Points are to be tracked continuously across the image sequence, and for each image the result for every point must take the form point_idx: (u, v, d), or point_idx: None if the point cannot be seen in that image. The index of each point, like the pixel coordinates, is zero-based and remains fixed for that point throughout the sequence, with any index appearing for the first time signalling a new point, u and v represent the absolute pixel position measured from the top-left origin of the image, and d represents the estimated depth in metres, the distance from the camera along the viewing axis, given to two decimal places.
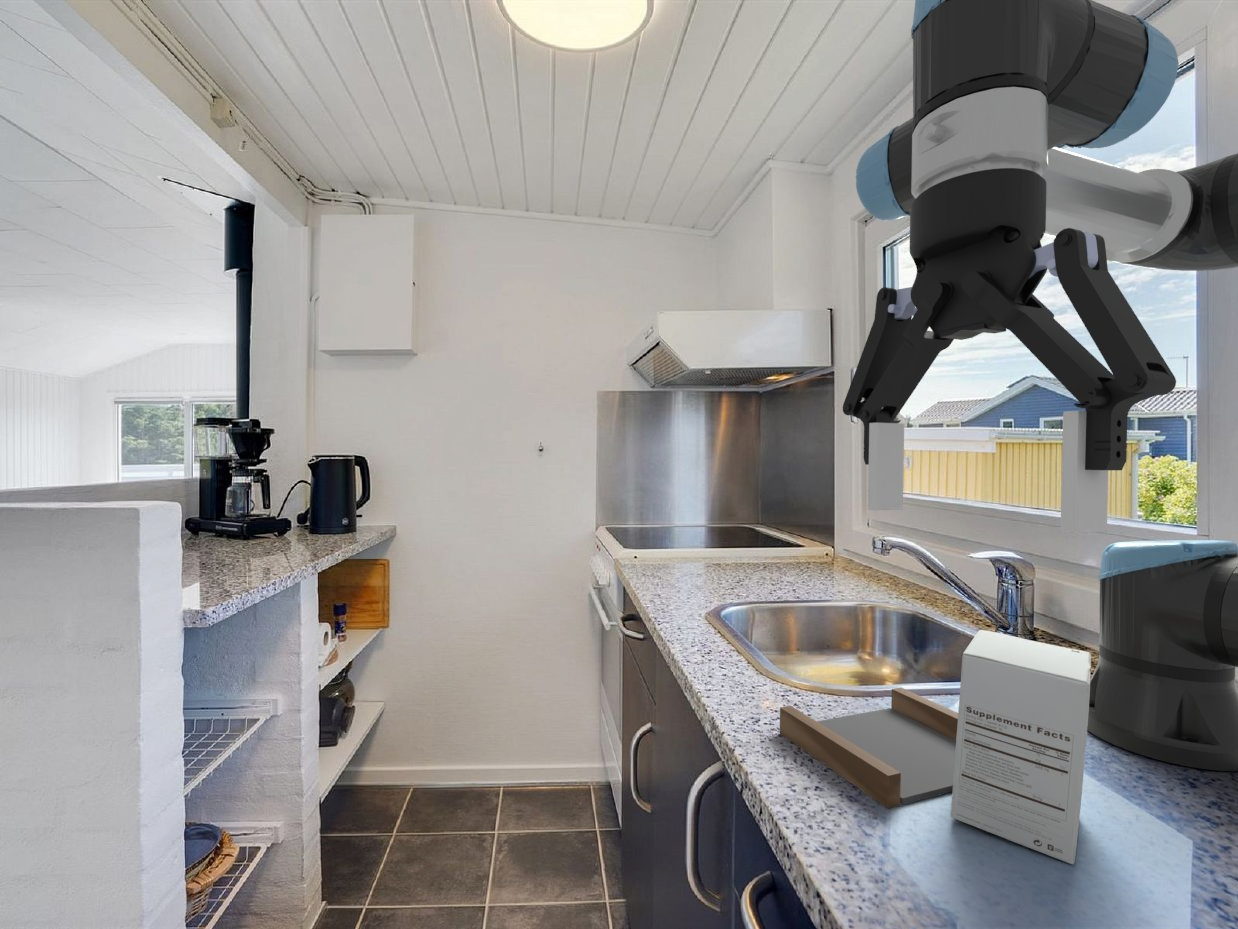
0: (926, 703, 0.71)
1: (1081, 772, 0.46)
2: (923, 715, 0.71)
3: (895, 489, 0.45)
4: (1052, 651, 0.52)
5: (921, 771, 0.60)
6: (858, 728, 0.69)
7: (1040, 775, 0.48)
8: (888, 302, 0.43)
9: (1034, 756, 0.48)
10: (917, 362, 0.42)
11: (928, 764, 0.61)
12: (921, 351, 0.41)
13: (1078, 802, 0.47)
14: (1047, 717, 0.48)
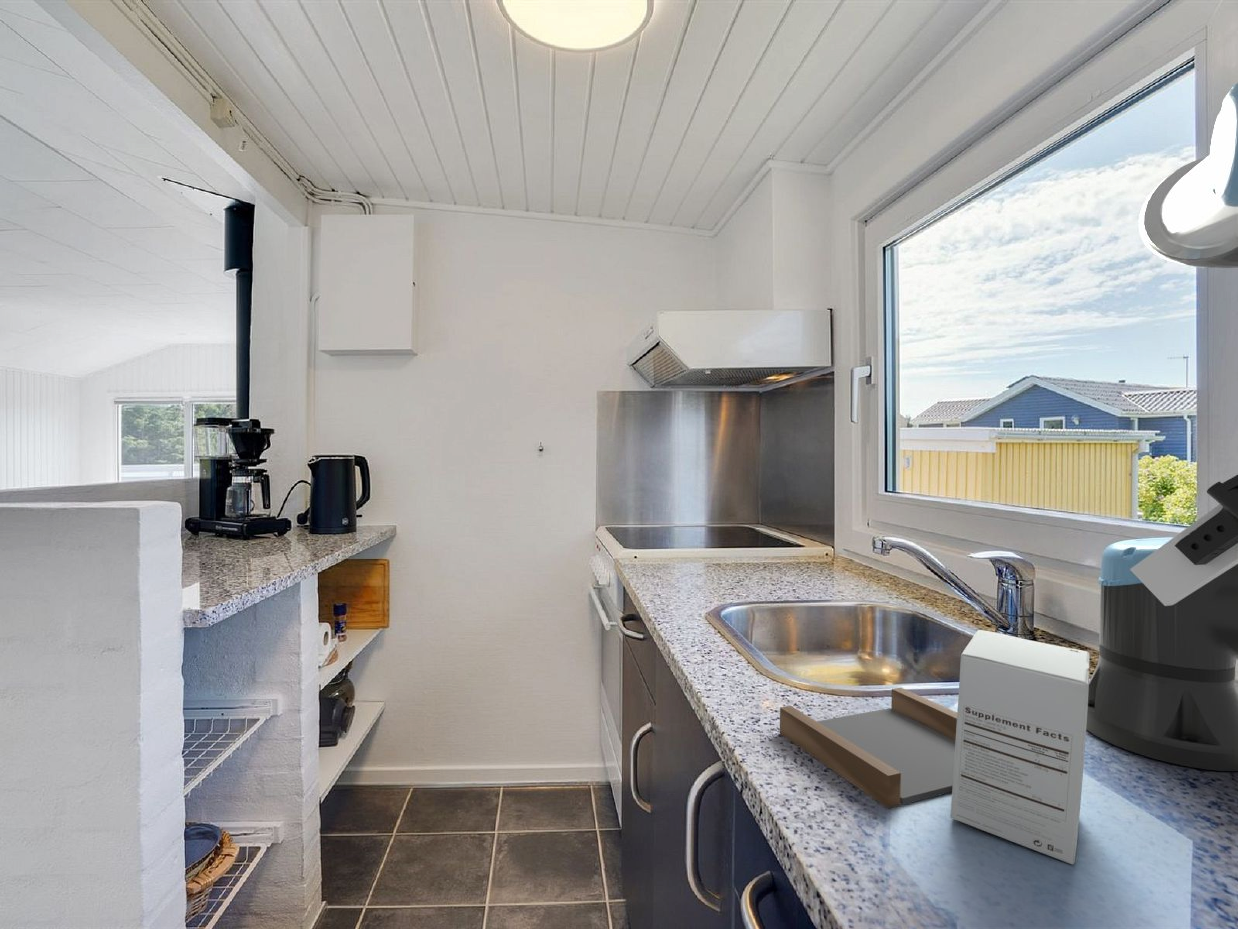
0: (926, 703, 0.71)
1: (1080, 772, 0.46)
2: (923, 715, 0.71)
3: None
4: (1050, 651, 0.52)
5: (921, 771, 0.60)
6: (858, 728, 0.69)
7: (1039, 775, 0.48)
8: None
9: (1033, 756, 0.48)
10: None
11: (928, 764, 0.61)
12: None
13: (1077, 802, 0.47)
14: (1046, 717, 0.47)
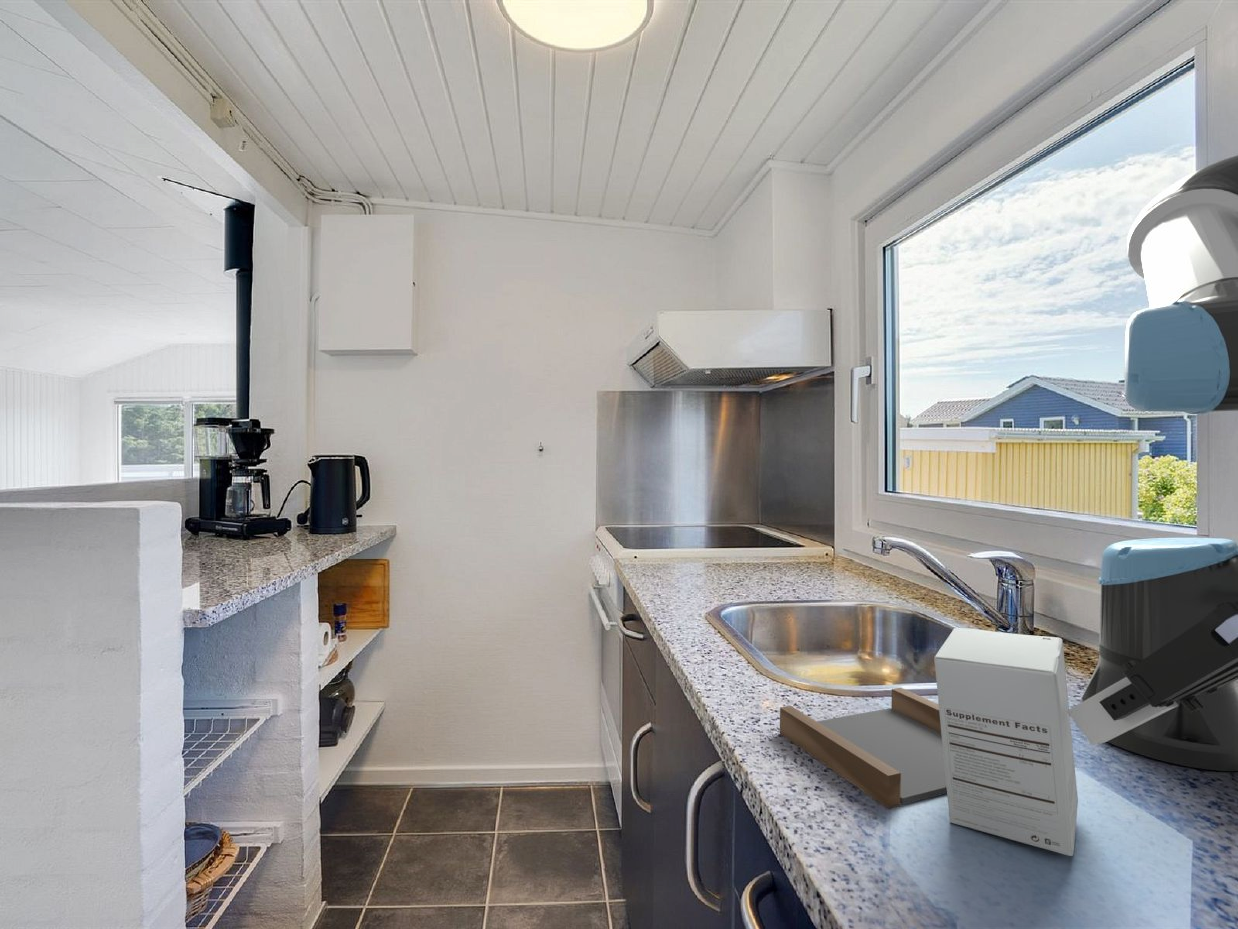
0: (926, 703, 0.71)
1: (1063, 762, 0.47)
2: (923, 715, 0.71)
3: None
4: (1023, 642, 0.53)
5: (921, 771, 0.60)
6: (858, 728, 0.69)
7: (1025, 770, 0.48)
8: None
9: (1017, 752, 0.48)
10: None
11: (928, 764, 0.61)
12: None
13: (1066, 793, 0.47)
14: (1022, 711, 0.48)
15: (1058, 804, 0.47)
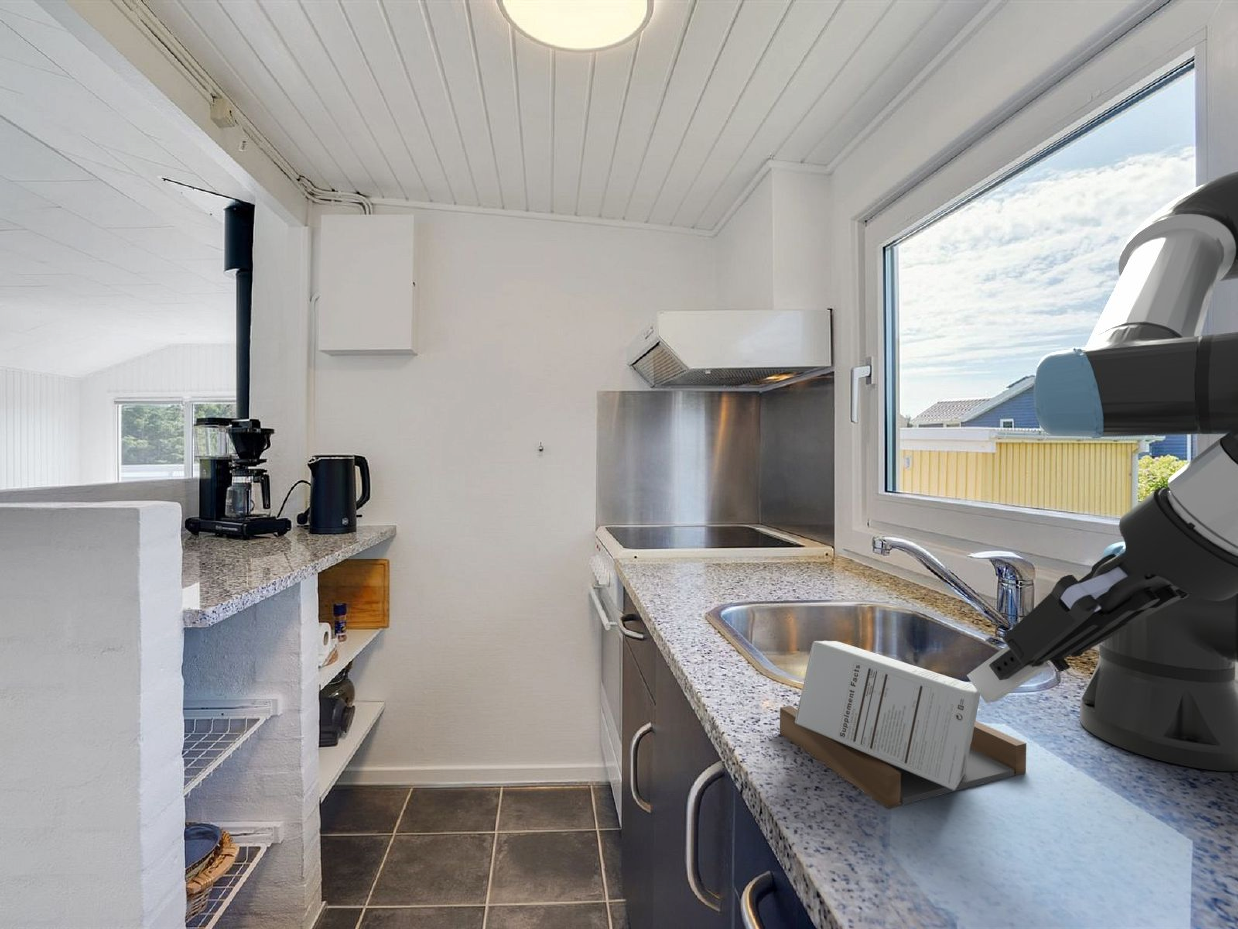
0: None
1: (885, 664, 0.58)
2: None
3: None
4: None
5: None
6: None
7: (892, 695, 0.57)
8: None
9: (876, 694, 0.58)
10: None
11: None
12: None
13: (912, 674, 0.57)
14: (841, 675, 0.60)
15: (922, 683, 0.56)
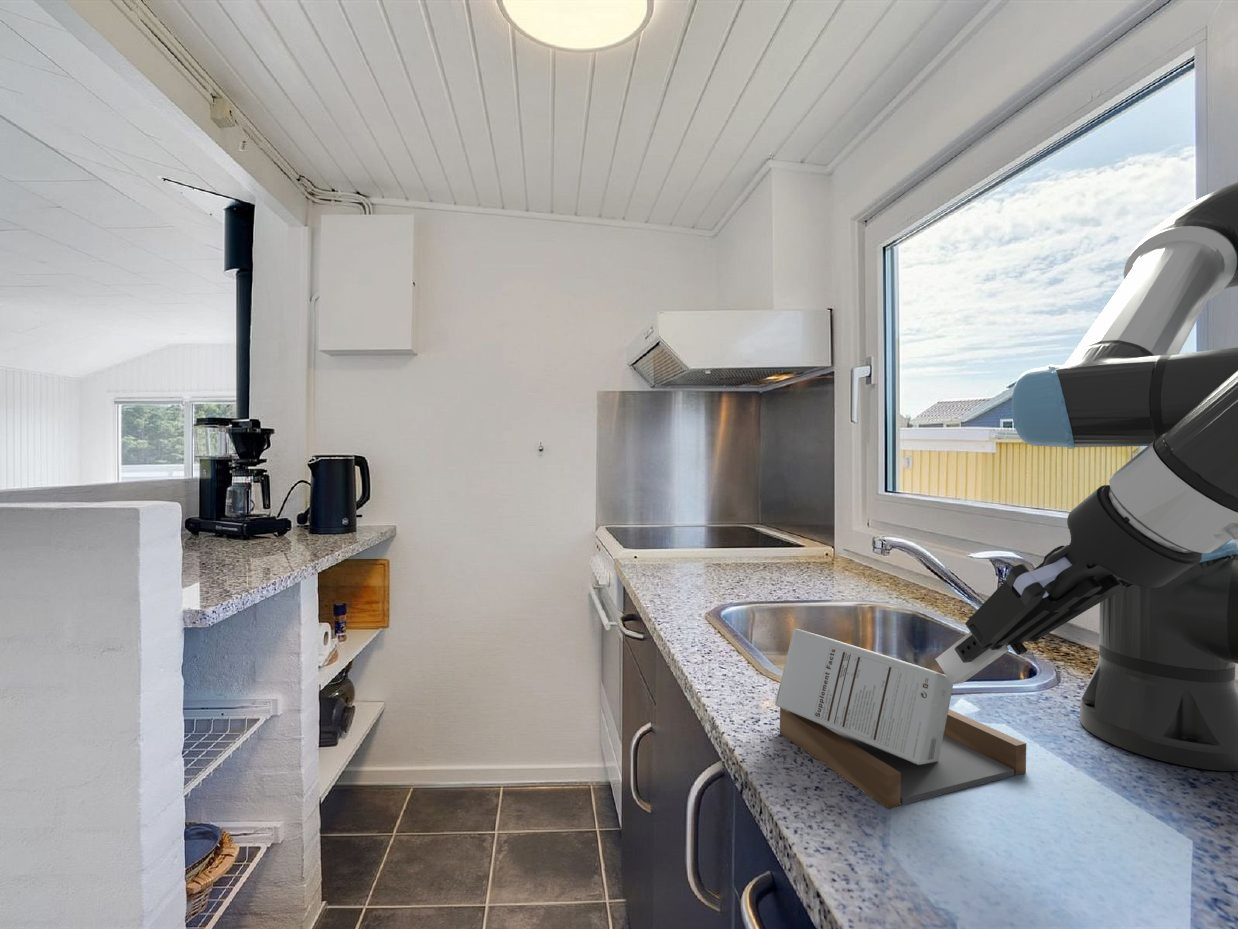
0: None
1: (858, 648, 0.62)
2: None
3: None
4: None
5: (921, 771, 0.60)
6: None
7: (864, 676, 0.61)
8: (1042, 594, 0.46)
9: (849, 676, 0.62)
10: None
11: (928, 764, 0.61)
12: None
13: (882, 656, 0.61)
14: (818, 659, 0.64)
15: (891, 664, 0.60)
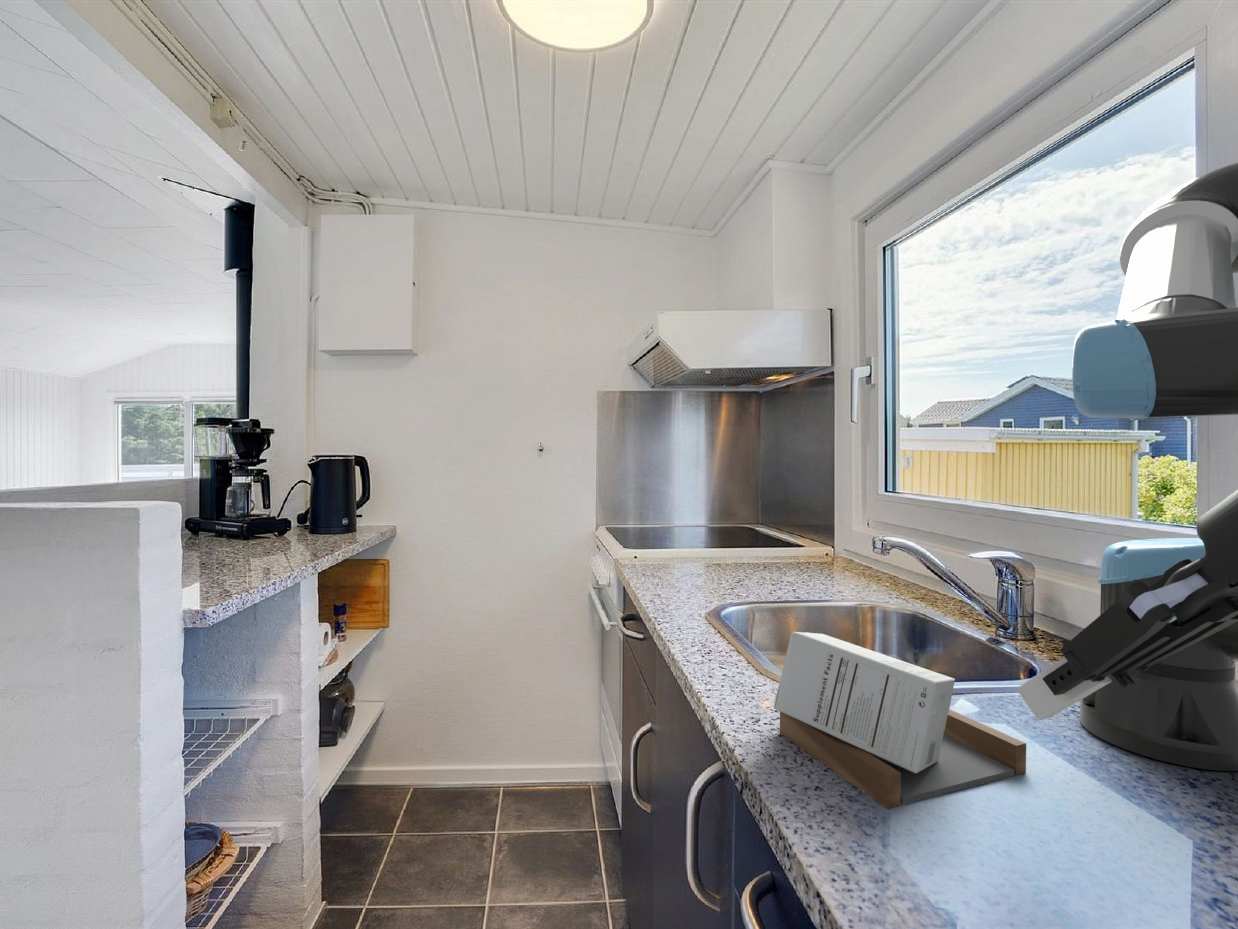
0: None
1: (856, 654, 0.61)
2: None
3: None
4: None
5: (921, 771, 0.60)
6: None
7: (862, 683, 0.60)
8: None
9: (847, 682, 0.61)
10: None
11: None
12: None
13: (880, 663, 0.60)
14: (816, 664, 0.63)
15: (889, 672, 0.59)
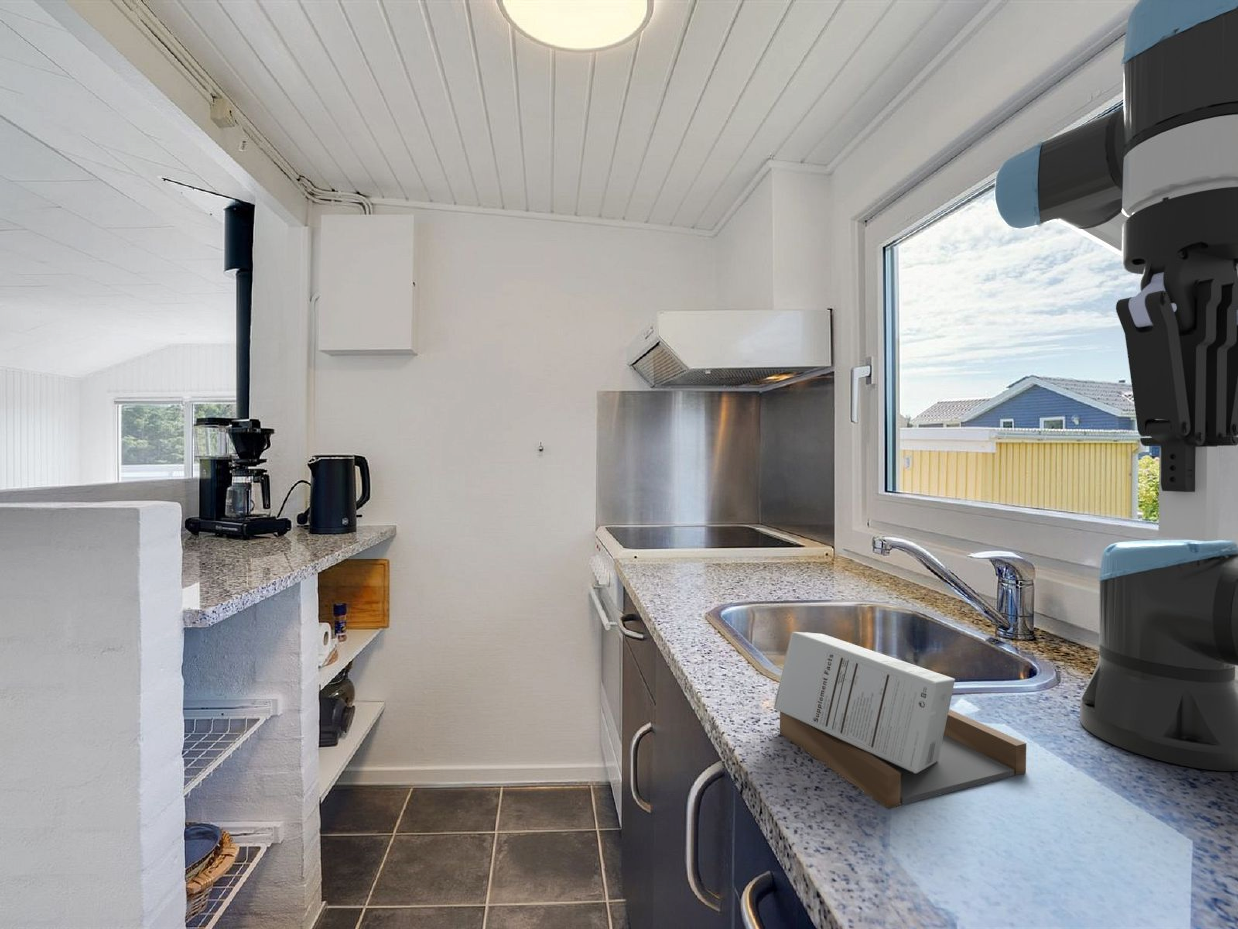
0: None
1: (856, 654, 0.61)
2: None
3: None
4: None
5: (921, 771, 0.60)
6: None
7: (862, 683, 0.60)
8: (1169, 303, 0.39)
9: (847, 682, 0.61)
10: None
11: None
12: None
13: (880, 663, 0.60)
14: (816, 664, 0.63)
15: (889, 672, 0.59)
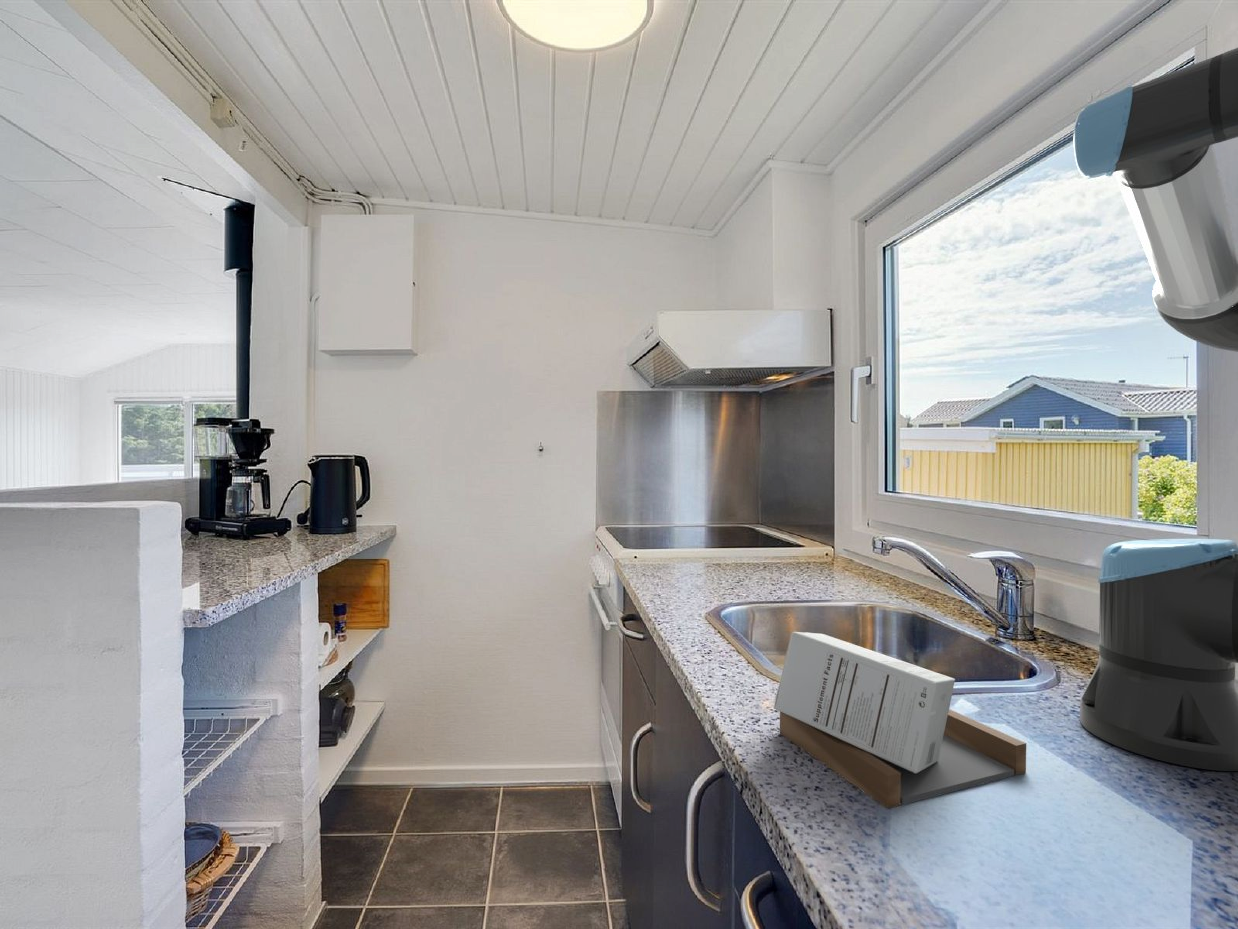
0: None
1: (856, 654, 0.61)
2: None
3: None
4: None
5: (921, 771, 0.60)
6: None
7: (862, 683, 0.60)
8: None
9: (847, 682, 0.61)
10: None
11: None
12: None
13: (880, 663, 0.60)
14: (816, 664, 0.63)
15: (889, 672, 0.59)
